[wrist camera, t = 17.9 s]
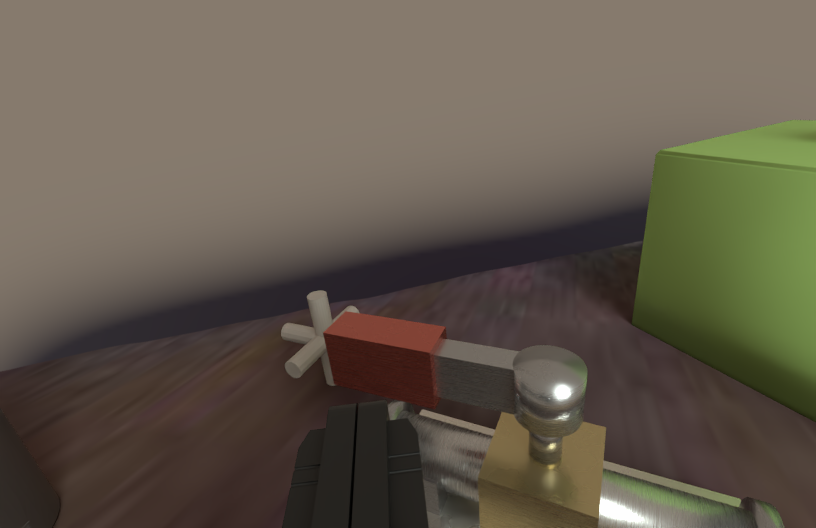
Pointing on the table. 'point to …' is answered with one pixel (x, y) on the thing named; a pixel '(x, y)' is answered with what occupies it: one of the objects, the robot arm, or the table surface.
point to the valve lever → (458, 371)
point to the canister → (737, 258)
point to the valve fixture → (555, 482)
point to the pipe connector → (312, 337)
